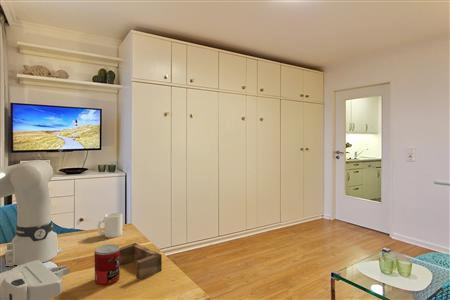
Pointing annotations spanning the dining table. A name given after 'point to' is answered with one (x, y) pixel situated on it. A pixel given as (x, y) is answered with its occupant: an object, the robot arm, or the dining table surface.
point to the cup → (111, 225)
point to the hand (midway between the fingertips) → (67, 269)
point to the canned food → (107, 264)
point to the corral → (141, 259)
